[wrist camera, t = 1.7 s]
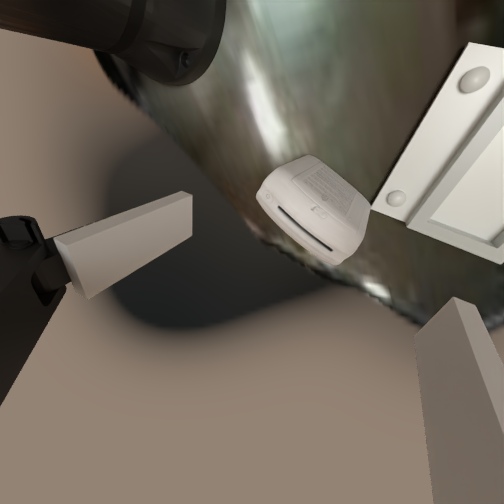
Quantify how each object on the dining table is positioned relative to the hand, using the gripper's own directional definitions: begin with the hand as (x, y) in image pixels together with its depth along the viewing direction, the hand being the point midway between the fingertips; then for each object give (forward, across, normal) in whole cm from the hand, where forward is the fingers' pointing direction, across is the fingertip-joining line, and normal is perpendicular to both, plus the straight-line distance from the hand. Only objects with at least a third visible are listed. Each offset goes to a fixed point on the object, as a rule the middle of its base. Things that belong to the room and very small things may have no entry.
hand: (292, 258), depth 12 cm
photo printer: (+19, -1, -2) cm, 19 cm away
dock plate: (+19, +12, +4) cm, 23 cm away
